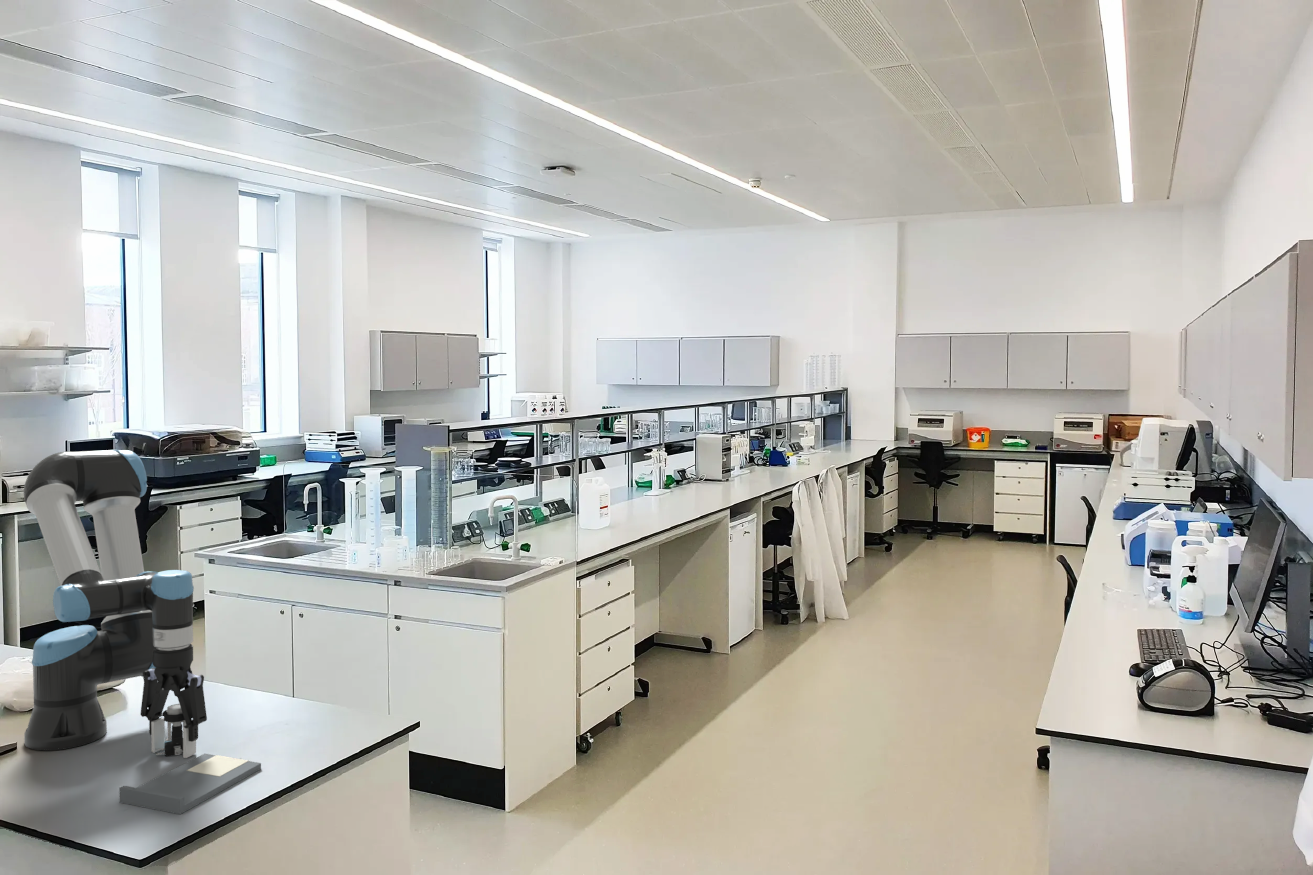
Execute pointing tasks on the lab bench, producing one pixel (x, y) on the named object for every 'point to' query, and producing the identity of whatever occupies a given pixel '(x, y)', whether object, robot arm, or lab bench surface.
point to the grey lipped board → (189, 783)
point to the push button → (173, 731)
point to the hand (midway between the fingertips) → (173, 752)
